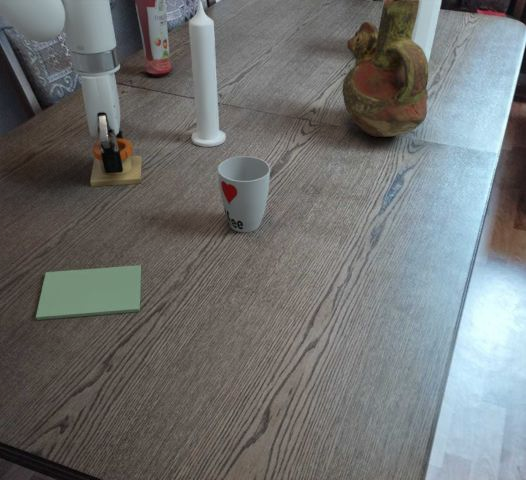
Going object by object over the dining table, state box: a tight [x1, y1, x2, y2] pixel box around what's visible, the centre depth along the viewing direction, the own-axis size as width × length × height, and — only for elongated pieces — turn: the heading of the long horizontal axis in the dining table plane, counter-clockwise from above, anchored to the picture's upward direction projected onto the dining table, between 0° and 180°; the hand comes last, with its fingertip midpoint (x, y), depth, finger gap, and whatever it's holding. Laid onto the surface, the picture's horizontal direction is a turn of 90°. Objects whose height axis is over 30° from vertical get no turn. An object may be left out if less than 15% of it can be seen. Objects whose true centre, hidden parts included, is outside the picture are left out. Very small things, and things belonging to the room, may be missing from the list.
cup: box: [217, 155, 271, 233], centre depth 88 cm, size 8×8×10 cm
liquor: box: [134, 0, 173, 78], centre depth 129 cm, size 7×7×28 cm
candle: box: [188, 0, 227, 148], centre depth 105 cm, size 7×7×25 cm
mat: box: [35, 264, 142, 321], centre depth 79 cm, size 14×10×1 cm
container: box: [379, 0, 443, 64], centre depth 142 cm, size 14×14×18 cm
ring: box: [92, 138, 134, 161], centre depth 100 cm, size 7×7×1 cm
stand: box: [89, 137, 143, 187], centre depth 101 cm, size 9×9×7 cm
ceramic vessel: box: [342, 0, 429, 138], centre depth 109 cm, size 17×26×25 cm, turn 27°
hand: (115, 161), depth 102 cm, fingers closed on ring, 7 cm apart
